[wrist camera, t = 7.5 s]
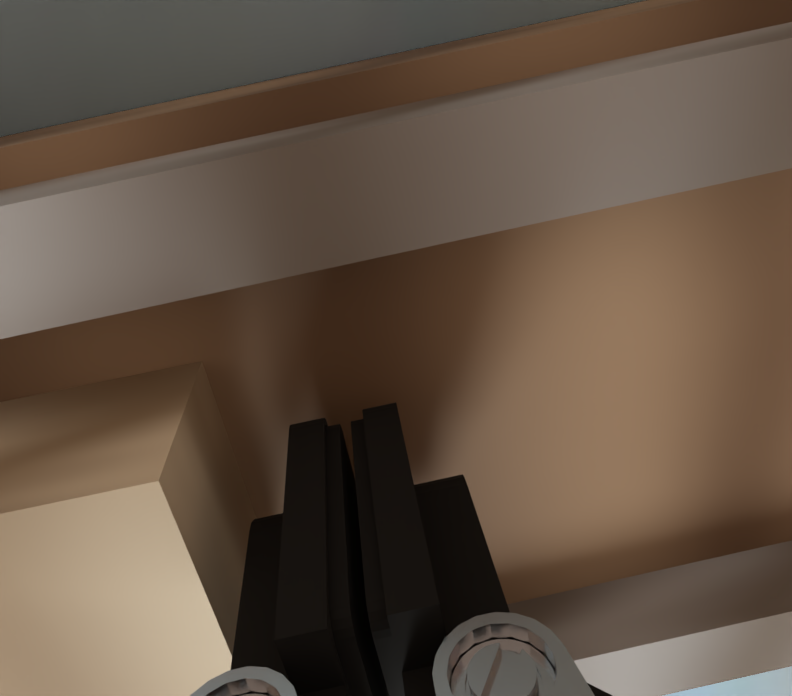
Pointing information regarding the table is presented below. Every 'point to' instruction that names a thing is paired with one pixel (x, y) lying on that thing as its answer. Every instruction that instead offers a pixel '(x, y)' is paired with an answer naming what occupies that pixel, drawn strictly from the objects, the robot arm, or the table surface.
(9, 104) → the table surface
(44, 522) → the beige block
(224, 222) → the slot block
